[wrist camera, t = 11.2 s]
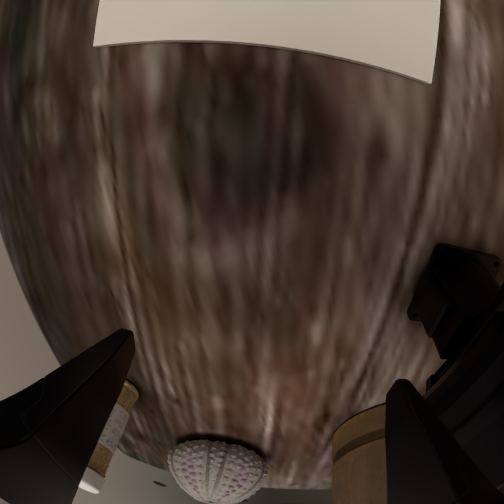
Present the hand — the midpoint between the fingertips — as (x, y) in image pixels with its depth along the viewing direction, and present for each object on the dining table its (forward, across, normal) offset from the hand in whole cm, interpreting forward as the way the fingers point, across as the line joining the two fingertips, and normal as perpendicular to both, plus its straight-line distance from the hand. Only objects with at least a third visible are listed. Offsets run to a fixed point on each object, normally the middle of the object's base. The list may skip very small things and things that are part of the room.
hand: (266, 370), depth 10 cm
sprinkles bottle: (+12, +14, +23) cm, 29 cm away
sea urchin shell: (+12, +1, +35) cm, 37 cm away
